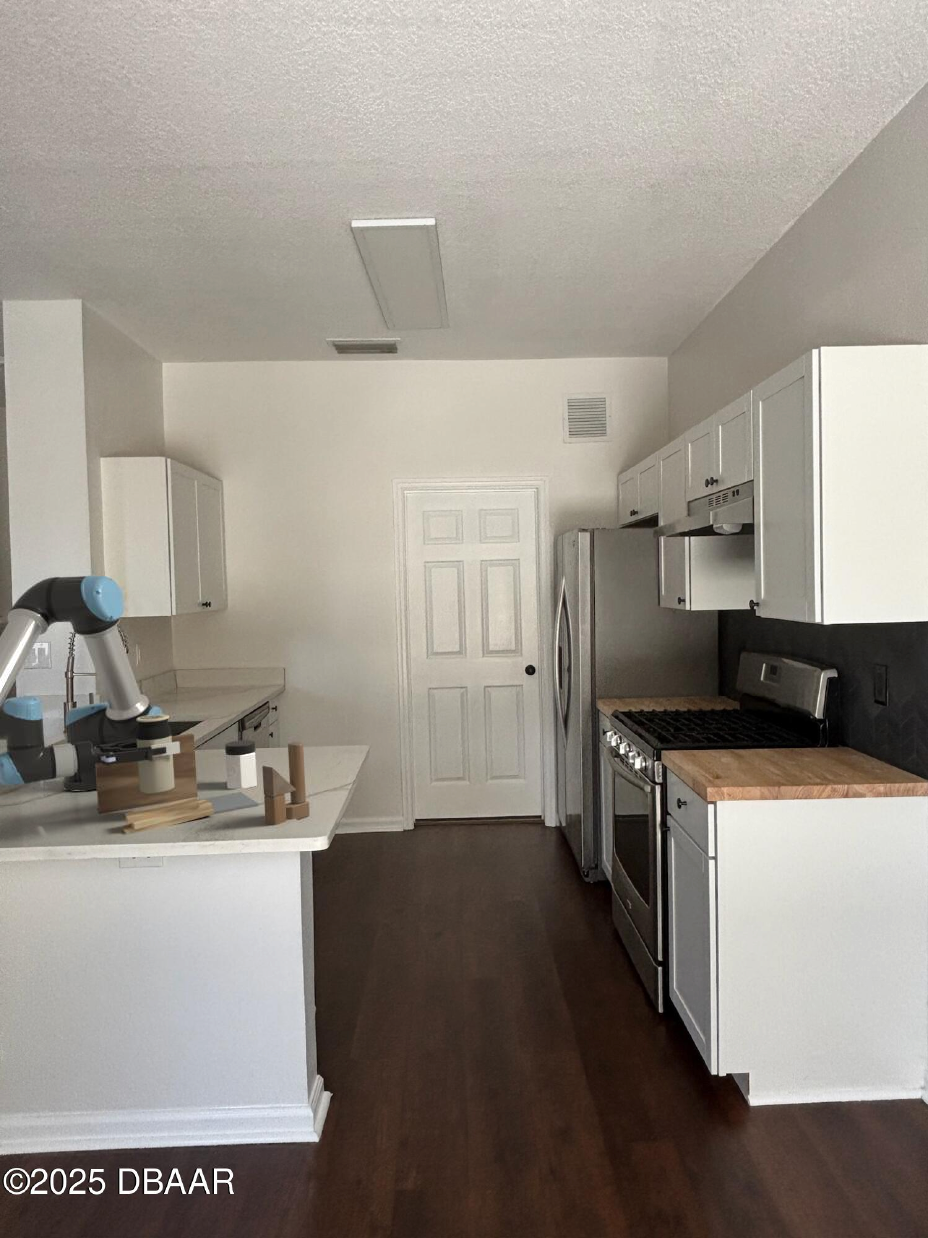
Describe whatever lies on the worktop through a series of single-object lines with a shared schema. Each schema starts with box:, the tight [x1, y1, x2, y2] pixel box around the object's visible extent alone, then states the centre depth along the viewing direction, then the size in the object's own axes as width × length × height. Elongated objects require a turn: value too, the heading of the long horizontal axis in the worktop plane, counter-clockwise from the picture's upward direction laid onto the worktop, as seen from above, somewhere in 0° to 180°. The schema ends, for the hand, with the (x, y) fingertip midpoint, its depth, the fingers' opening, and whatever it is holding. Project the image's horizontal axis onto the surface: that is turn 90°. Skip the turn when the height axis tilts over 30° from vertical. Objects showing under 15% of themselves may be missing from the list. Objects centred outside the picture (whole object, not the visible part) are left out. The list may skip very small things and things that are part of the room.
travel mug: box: [136, 713, 175, 794], centre depth 203 cm, size 8×8×18 cm
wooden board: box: [94, 733, 198, 815], centre depth 214 cm, size 4×24×17 cm, turn 123°
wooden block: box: [261, 741, 310, 826], centre depth 197 cm, size 4×11×18 cm, turn 143°
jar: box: [224, 739, 258, 790], centre depth 231 cm, size 9×8×12 cm
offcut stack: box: [121, 797, 215, 835], centre depth 197 cm, size 6×20×4 cm, turn 123°
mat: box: [197, 791, 259, 816], centre depth 211 cm, size 14×14×1 cm
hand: (174, 744), depth 206 cm, fingers closed on travel mug, 8 cm apart
